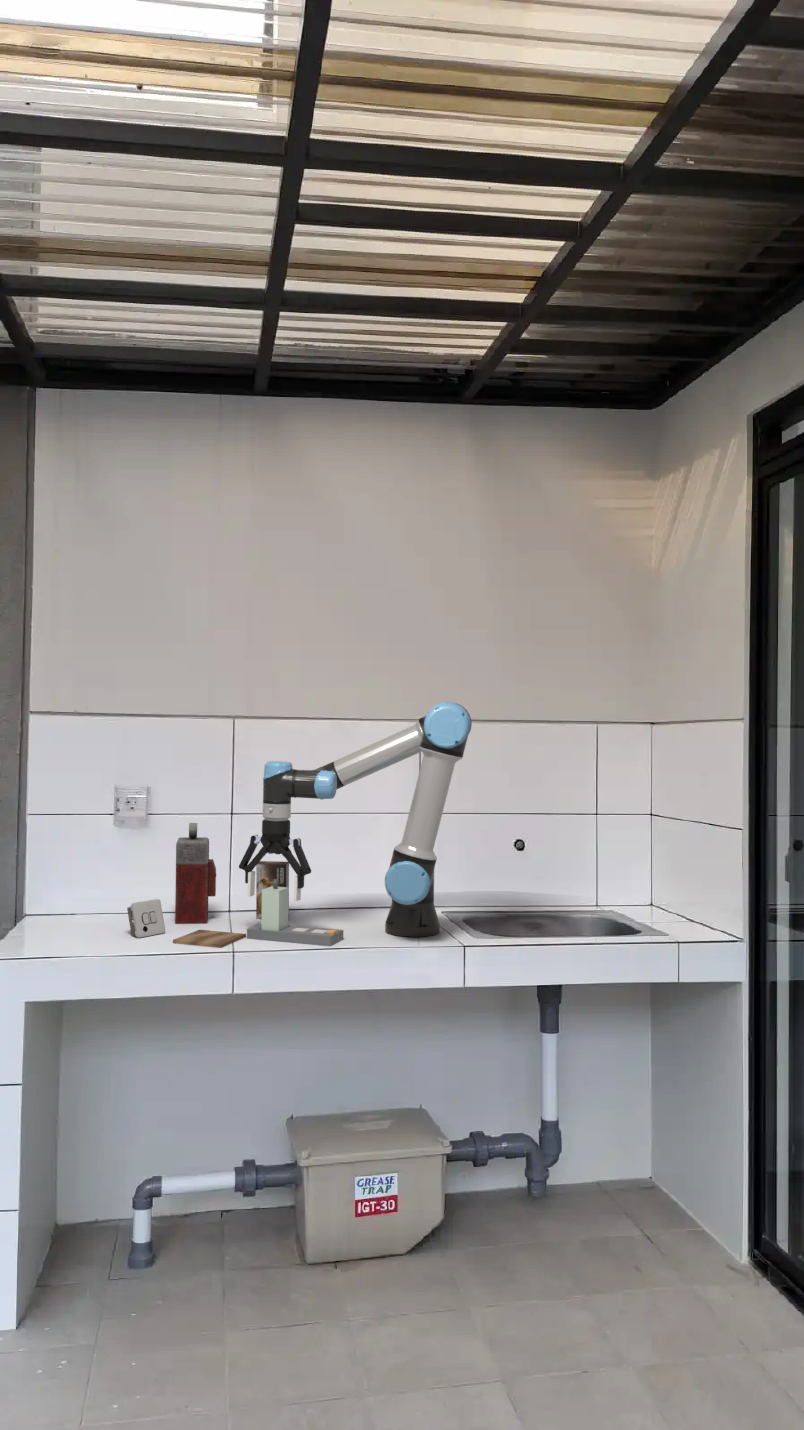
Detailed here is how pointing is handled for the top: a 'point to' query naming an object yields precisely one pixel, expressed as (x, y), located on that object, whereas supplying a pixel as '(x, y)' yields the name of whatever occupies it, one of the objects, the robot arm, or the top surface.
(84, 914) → the top surface
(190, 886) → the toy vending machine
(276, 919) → the pale green block
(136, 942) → the top surface
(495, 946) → the top surface
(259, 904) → the coffee box
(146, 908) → the electrical switch
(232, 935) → the walnut pad
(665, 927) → the top surface
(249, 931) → the power strip
